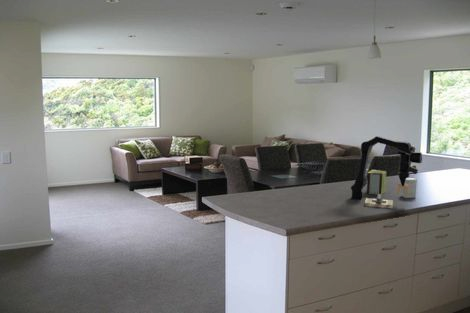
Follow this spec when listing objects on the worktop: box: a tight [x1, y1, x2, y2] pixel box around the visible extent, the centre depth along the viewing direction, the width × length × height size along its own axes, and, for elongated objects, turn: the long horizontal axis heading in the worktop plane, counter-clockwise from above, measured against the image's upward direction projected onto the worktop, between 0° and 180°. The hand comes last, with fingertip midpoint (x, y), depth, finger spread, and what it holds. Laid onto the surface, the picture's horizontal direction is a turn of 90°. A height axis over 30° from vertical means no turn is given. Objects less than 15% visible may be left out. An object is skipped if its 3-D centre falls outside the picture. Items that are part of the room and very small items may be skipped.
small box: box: [400, 177, 418, 199], centre depth 345 cm, size 8×6×13 cm
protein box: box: [366, 169, 387, 196], centre depth 357 cm, size 10×15×16 cm
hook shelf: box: [364, 194, 394, 209], centre depth 320 cm, size 17×15×6 cm
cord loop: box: [396, 183, 408, 195], centre depth 318 cm, size 6×3×10 cm, turn 73°
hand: (402, 185), depth 318 cm, fingers closed on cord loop, 3 cm apart
